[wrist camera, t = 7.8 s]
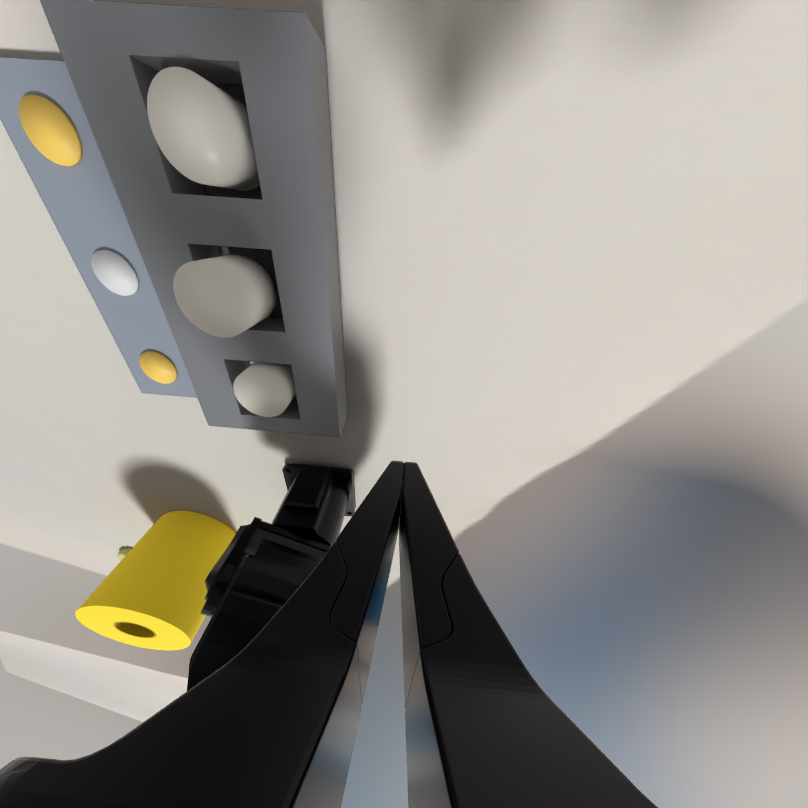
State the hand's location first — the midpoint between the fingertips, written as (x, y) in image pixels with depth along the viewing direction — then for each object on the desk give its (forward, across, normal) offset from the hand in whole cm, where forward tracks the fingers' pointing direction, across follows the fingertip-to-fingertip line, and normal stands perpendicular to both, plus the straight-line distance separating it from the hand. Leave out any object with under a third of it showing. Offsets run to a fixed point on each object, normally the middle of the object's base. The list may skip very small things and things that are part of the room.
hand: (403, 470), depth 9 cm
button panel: (+12, +10, -3) cm, 16 cm away
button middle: (+10, +10, -3) cm, 14 cm away
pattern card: (+12, +19, -3) cm, 23 cm away
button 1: (+12, +10, -9) cm, 18 cm away
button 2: (+12, +10, +4) cm, 16 cm away
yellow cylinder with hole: (+12, +24, +27) cm, 38 cm away
